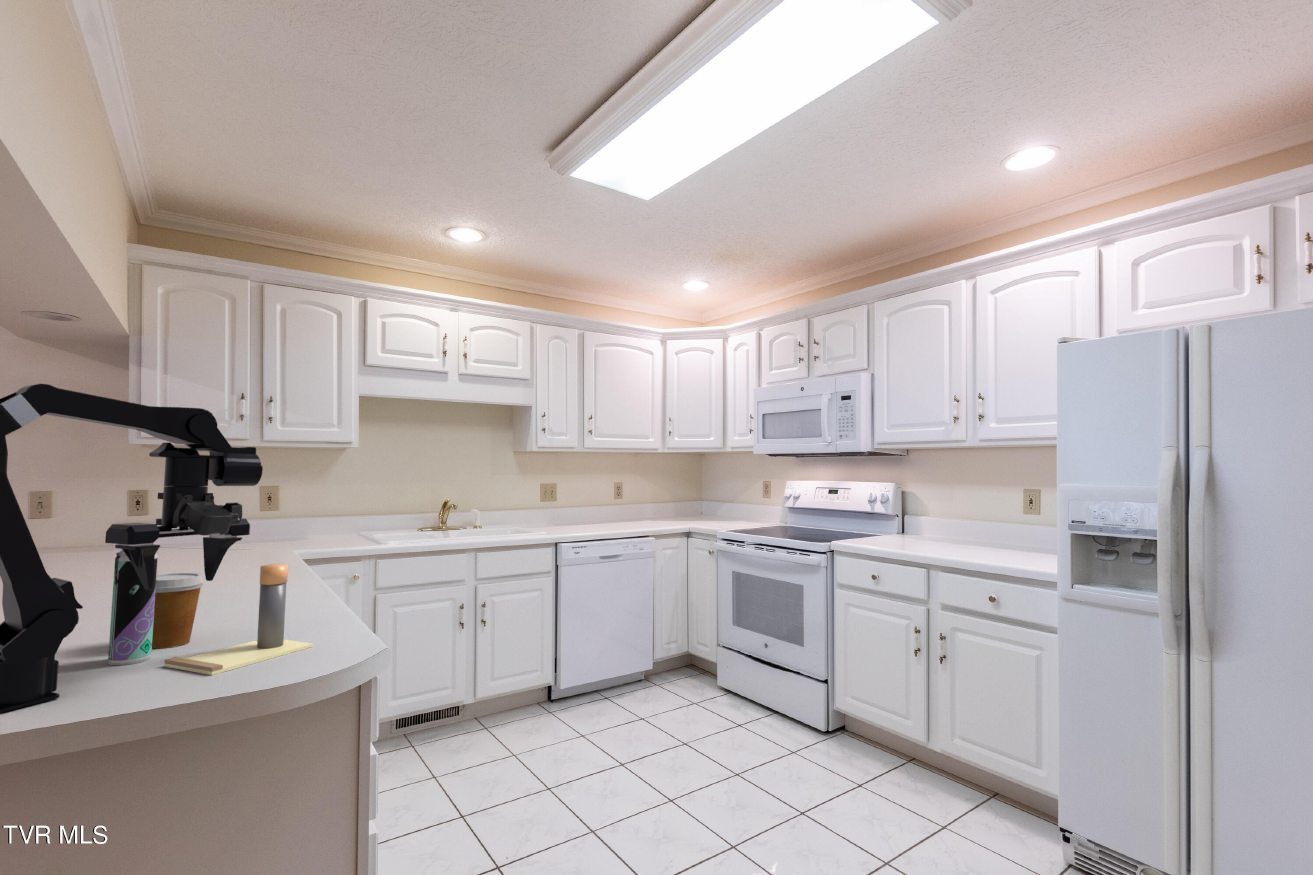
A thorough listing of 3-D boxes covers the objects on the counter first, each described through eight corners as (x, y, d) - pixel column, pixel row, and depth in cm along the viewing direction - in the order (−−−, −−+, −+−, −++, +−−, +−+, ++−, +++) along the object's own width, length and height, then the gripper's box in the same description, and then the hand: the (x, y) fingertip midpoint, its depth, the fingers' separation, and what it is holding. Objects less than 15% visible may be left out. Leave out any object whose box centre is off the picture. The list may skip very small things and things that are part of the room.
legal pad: (212, 675, 97) (212, 667, 97) (164, 666, 101) (164, 659, 101) (312, 646, 114) (313, 640, 114) (268, 639, 118) (268, 633, 118)
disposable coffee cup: (184, 649, 111) (188, 580, 111) (121, 652, 109) (126, 581, 109) (210, 636, 120) (214, 572, 121) (152, 638, 118) (156, 572, 119)
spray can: (126, 666, 101) (134, 539, 102) (98, 663, 102) (107, 538, 103) (159, 656, 106) (167, 536, 107) (133, 654, 107) (140, 535, 108)
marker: (273, 649, 110) (277, 567, 111) (250, 648, 110) (254, 566, 111) (289, 643, 114) (293, 564, 115) (267, 642, 114) (271, 563, 115)
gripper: (156, 488, 90) (149, 599, 89) (275, 487, 108) (270, 580, 107) (106, 486, 94) (99, 593, 93) (229, 485, 112) (224, 575, 111)
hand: (180, 584), depth 101 cm, fingers open, 9 cm apart
